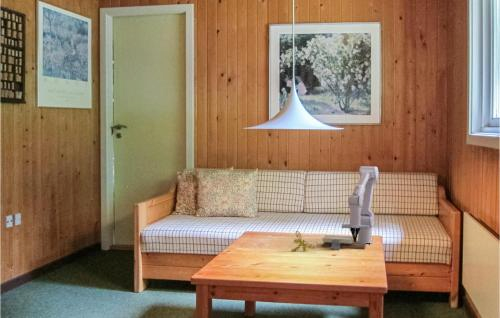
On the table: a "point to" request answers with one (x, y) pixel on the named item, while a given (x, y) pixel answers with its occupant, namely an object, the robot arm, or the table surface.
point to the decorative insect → (301, 243)
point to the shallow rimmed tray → (342, 239)
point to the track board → (350, 246)
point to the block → (335, 244)
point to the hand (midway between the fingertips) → (354, 241)
